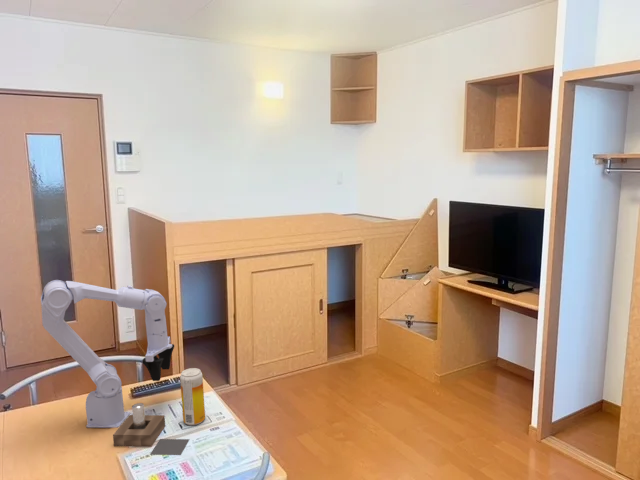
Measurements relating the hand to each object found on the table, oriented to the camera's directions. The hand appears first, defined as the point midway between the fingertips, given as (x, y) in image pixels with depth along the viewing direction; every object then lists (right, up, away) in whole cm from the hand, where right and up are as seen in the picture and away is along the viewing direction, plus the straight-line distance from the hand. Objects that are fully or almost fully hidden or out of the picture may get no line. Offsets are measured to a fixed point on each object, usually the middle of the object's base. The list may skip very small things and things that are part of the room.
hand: (161, 374), depth 148 cm
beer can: (+12, -12, -7) cm, 18 cm away
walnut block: (-1, -13, -14) cm, 19 cm away
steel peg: (-1, -13, -14) cm, 19 cm away
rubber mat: (+9, -14, -20) cm, 25 cm away
